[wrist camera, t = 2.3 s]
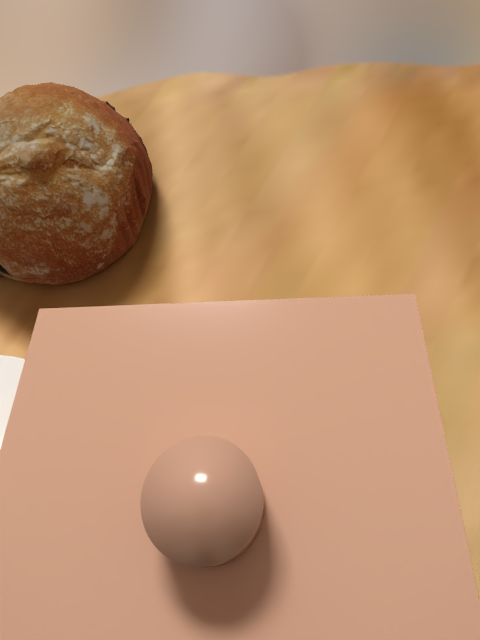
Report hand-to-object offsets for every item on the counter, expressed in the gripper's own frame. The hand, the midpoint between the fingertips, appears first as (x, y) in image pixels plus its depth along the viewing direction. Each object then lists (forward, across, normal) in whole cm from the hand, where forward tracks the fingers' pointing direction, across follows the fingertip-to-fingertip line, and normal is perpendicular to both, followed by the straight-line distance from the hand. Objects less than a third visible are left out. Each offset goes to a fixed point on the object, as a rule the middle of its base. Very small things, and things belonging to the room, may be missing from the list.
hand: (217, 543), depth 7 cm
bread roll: (+18, +10, -5) cm, 21 cm away
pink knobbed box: (+6, 0, +5) cm, 8 cm away
